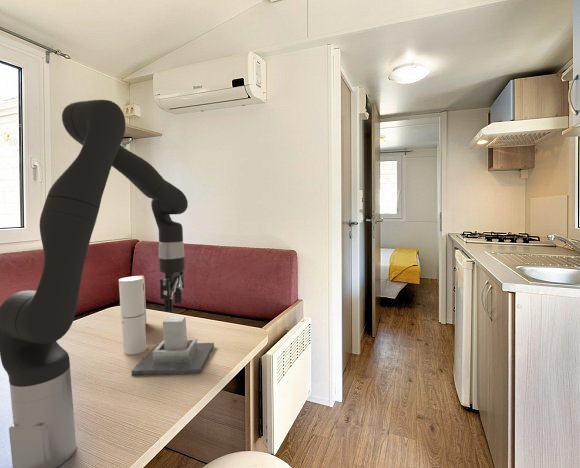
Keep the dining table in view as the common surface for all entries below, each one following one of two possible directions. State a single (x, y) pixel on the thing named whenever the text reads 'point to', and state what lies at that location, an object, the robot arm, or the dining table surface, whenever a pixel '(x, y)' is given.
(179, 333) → the skincare box
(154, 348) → the duct plate
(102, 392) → the dining table surface
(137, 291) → the cylindrical container
